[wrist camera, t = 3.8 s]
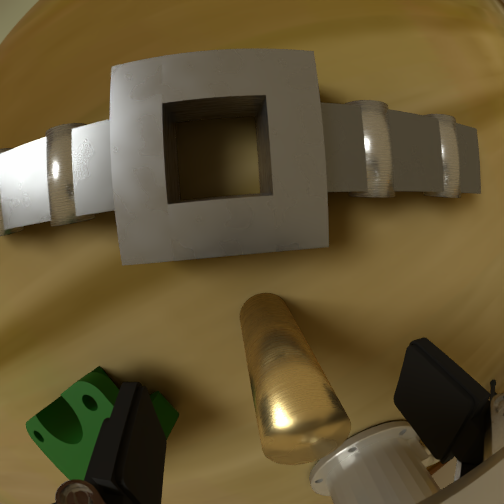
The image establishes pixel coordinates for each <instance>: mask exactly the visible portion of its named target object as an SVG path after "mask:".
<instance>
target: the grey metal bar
mask: <svg viewBox="0 0 504 504" xmlns="http://www.w3.org/2000/svg"><path fill="white" fill-rule="evenodd" d="M233 117H255V122H256V136H257V150H258V164H259V179H260V194H245V195H232V196H220V197H209V198H198V199H188V200H181V198H180V186H179V172H178V157H177V139H176V123H179V122H187V121H196V120H207V119H219V118H233ZM395 191H424V195H425V196H435V197H452V198H461V193H477V194H481V183H480V161H479V148H478V139H477V130H476V128H472V127H469V126H465V125H461V124H457V123H456V120H455V118H454V117H452V116H449V115H443V114H428V115H418V114H412V113H407V112H401V111H395V110H389V109H388V105H387V104H386V103H384V102H380V101H373V100H360V101H352V102H348V103H346V104H335V103H320V95H319V87H318V79H317V72H316V64H315V58H314V51H304V50H288V49H226V50H211V51H199V52H190V53H181V54H174V55H167V56H161V57H155V58H149V59H144V60H139V61H134V62H129V63H125V64H120V65H116V66H112V71H111V90H110V119H109V120H105V121H101V122H96V123H92V124H88V125H87V124H82V123H71V124H64V125H59V126H56V127H53V128H51V129H49V130H47V131H46V137H44V138H41V139H38V140H35V141H32V142H30V143H27V144H24V145H21V146H19V147H16V148H4V149H0V236H3V235H7V234H11V233H15V232H19V231H22V230H24V227H23V226H25V225H30V224H36V223H41V222H46V221H50V223H51V226H59V225H65V224H71V223H76V222H81V221H86V220H90V219H94V218H95V213H100V212H107V211H114V210H115V217H116V225H117V233H118V240H119V247H120V253H121V260H122V265H132V264H144V263H155V262H166V261H178V260H189V259H200V258H211V257H223V256H234V255H245V254H256V253H267V252H278V251H289V250H300V249H311V248H322V247H329V225H328V195H327V192H349V196H351V197H395Z"/></svg>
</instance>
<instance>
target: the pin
mask: <svg viewBox="0 0 504 504" xmlns="http://www.w3.org/2000/svg"><path fill="white" fill-rule="evenodd" d="M240 322H241V329H242V335H243V341H244V347H245V353H246V360H247V366H248V372H249V377H250V383H251V389H252V395H253V401H254V406H255V412H256V418H257V423H258V429H259V434H260V440H261V445H262V450H263V453H264V454H265V456H266V457H267V458H268V459H270V460H272V461H274V462H276V463H280V464H286V465H298V464H305V463H309V462H313V461H316V460H318V459H321V458H323V457H325V456H327V455H329V454H330V453H332V452H333V451H335V450H336V449H337V448H339V447H340V446H341V445H342V444H343V443H344V441H345V440H346V439H347V437H348V435H349V433H350V430H351V422H350V419H349V417H348V416H347V414H346V412H345V410H344V408H343V407H342V405H341V403H340V401H339V399H338V397H337V396H336V394H335V392H334V390H333V388H332V386H331V385H330V383H329V381H328V379H327V377H326V376H325V374H324V372H323V370H322V368H321V366H320V365H319V363H318V361H317V359H316V357H315V356H314V354H313V352H312V350H311V348H310V347H309V345H308V343H307V341H306V339H305V337H304V336H303V334H302V332H301V330H300V328H299V327H298V325H297V323H296V321H295V319H294V318H293V316H292V314H291V312H290V310H289V309H288V307H287V305H286V303H285V302H284V301H283V299H281V298H280V297H279V296H277V295H274V294H271V293H261V294H257V295H255V296H253V297H251V298H249V299H248V300H247V301H246V302H245V303H244V305H243V306H242V309H241V311H240Z"/></svg>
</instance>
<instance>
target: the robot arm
mask: <svg viewBox="0 0 504 504" xmlns="http://www.w3.org/2000/svg"><path fill="white" fill-rule="evenodd" d="M490 395H491V394H490V393H489V392H487V391H486V390H485V389H484V388H483V387H482V386H481V385H480V384H479V383H478V382H476V381H475V380H474V379H473V378H472V377H471V376H470V375H469V374H467V373H466V372H465V371H464V370H463V369H462V368H461V367H460V366H458V365H457V364H456V363H455V362H454V361H453V360H452V359H450V358H449V357H448V356H447V355H446V354H445V353H443V352H442V351H441V350H440V349H439V348H438V347H436V346H435V345H434V344H433V343H432V342H430V341H429V340H428V339H427V338H420V339H417V340H414V341H412V342H411V343H410V345H409V346H408V347H407V350H406V354H405V358H404V362H403V366H402V370H401V374H400V377H399V381H398V384H397V388H396V391H395V395H394V403H395V405H396V407H397V408H398V409H399V411H400V412H401V413H402V415H403V416H404V417H405V419H406V420H407V421H408V422H406V421H394V422H389V423H384V424H381V425H378V426H375V427H372V428H370V429H367V430H365V431H363V432H360V433H358V434H356V435H355V436H353V437H351V438H349V439H347V440H345V441H344V443H343V444H342V445H341V446H340V447H339V448H337V449H336V450H335V451H333V452H332V453H330V454H329V455H327V456H325V457H323V458H321V459H320V460H319V461H318V463H317V464H316V465H315V466H314V467H313V469H312V471H311V473H310V477H309V480H310V484H311V487H312V489H313V490H314V491H315V492H316V493H318V494H321V495H325V496H331V498H332V500H333V503H334V504H504V393H500V394H497V395H495V396H494V397H493V398H492V400H491V402H490V401H489V400H488V399H489V397H490ZM420 439H421V440H422V442H423V443H424V444H425V446H422V445H421V444H420V443H419V441H420ZM165 453H166V436H165V434H164V431H163V429H162V427H161V424H160V422H159V419H158V417H157V414H156V412H155V409H154V406H153V404H152V401H151V398H150V396H149V393H148V390H147V388H146V387H145V386H141V384H140V383H139V382H123V383H122V385H121V387H120V390H119V393H118V396H117V398H116V401H115V404H114V407H113V410H112V413H111V416H110V418H105V419H104V421H103V423H102V425H101V428H100V431H99V434H98V437H97V440H96V443H95V446H94V449H93V452H92V455H91V459H90V462H89V465H88V468H87V472H86V475H85V478H84V481H83V480H79V479H73V480H69V481H66V482H65V483H63V484H61V486H60V487H59V488H58V489H57V492H56V496H55V500H56V502H55V503H53V504H161V498H162V485H163V473H164V463H165ZM454 456H455V457H456V458H457V464H456V471H455V477H454V482H453V483H451V484H450V485H448V486H447V487H445V488H443V489H442V490H440V488H439V487H438V485H437V484H436V482H435V481H434V479H433V478H432V476H431V475H430V473H429V472H428V470H427V469H426V467H428V466H430V465H433V464H435V463H437V462H439V461H440V462H441V463H442V464H444V463H446V462H447V461H449V460H451V459H452V458H453V457H454Z"/></svg>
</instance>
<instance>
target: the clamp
mask: <svg viewBox="0 0 504 504" xmlns="http://www.w3.org/2000/svg"><path fill="white" fill-rule="evenodd" d="M118 393H119V389H118V388H117V387H116V385H115V384H114V383H113V382H112V381H111V379H110V378H109V377H108V376H107V374H106V373H105V372H104V370H103V369H102V368H101V367H100V366H99V367H97V368H96V369H94V370H93V371H92V372H90V373H88V374H87V375H85V376H84V377H83V378H81V379H80V380H78V381H77V382H76V383H74V384H73V385H72V386H71V387H69V388H68V389H67V390H66V391H64V392H63V393H62V394H61V396H60V397H59V398H58V399H56V400H55V401H54V402H52V403H51V404H50V405H48V406H47V407H45V408H44V409H43V410H41V411H40V412H39V413H37V414H36V415H35V416H34V417H32V418H31V419H30V420H29V421H27V422H26V429H27V431H28V433H29V435H30V437H31V438H32V439H33V441H34V442H35V443H36V444H37V445H38V447H39V448H40V449H41V450H42V451H43V452H44V454H45V455H46V456H47V457H48V458H49V459H50V460H51V461H52V462H53V463H54V465H55V466H56V467H57V468H58V469H59V470H60V471H61V472H62V473H63V474H64V475H65V476H66V477H67V478H68V479H69V480H73V479H79V480H83V481H84V478H85V475H86V472H87V468H88V465H89V462H90V459H91V455H92V452H93V449H94V446H95V443H96V440H97V437H98V434H99V431H100V428H101V425H102V423H103V421H104V419H105V418H110V416H111V413H112V410H113V407H114V404H115V401H116V398H117V396H118ZM150 398H151V401H152V404H153V406H154V409H155V412H156V414H157V417H158V419H159V422H160V424H161V427H162V429H163V431H164V434H165V436H166V440H167V438H168V436H169V434H170V432H171V430H172V428H173V426H174V424H175V422H176V421H177V419H178V417H179V412H178V411H177V410H176V409H175V408H174V407H173V406H172V405H171V404H170V403H169V402H168V401H167V400H166V399H165V398H164V396H163V395H162V394H161V393H160V392H159V391H156V392H154V393H153V394H151V395H150Z"/></svg>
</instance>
